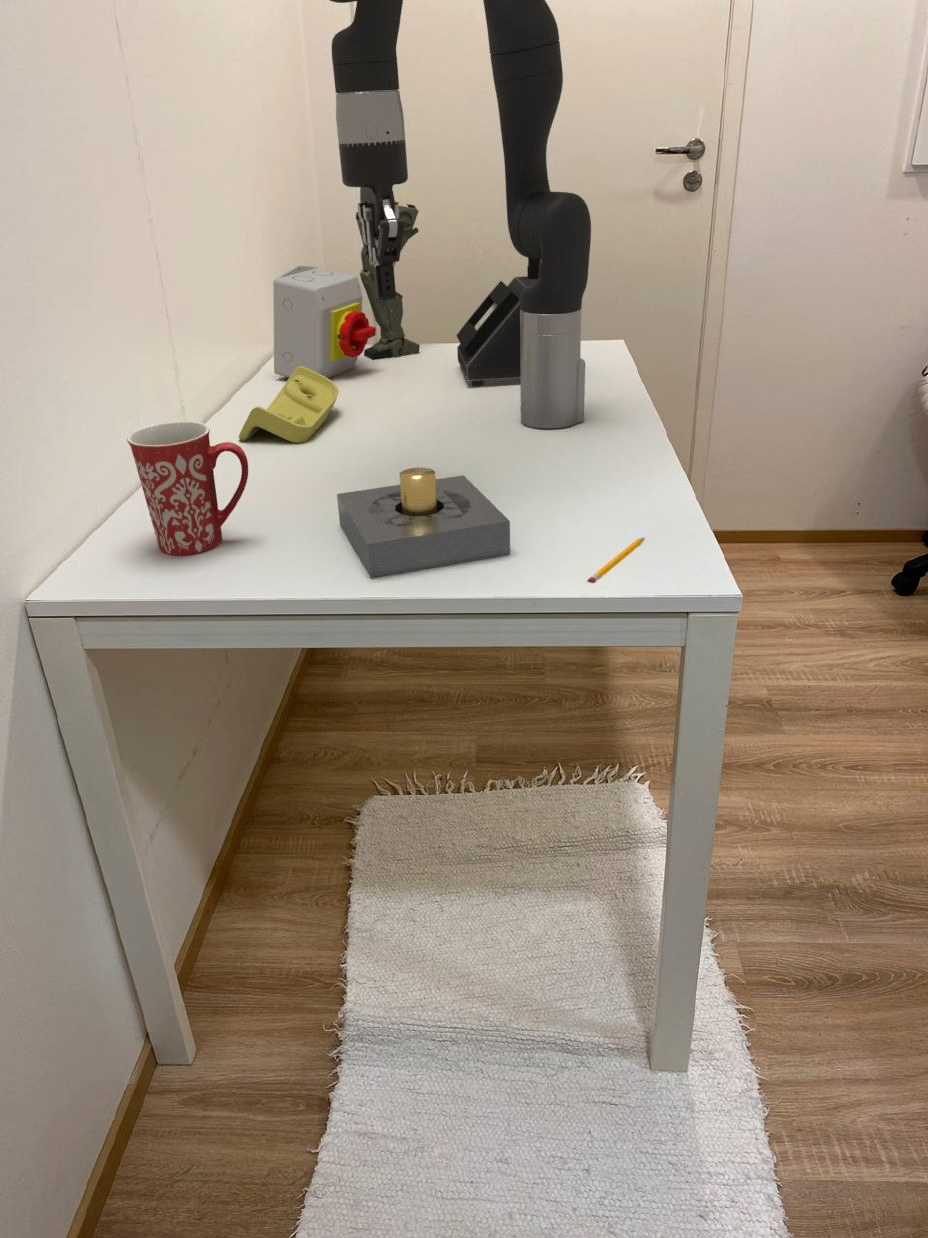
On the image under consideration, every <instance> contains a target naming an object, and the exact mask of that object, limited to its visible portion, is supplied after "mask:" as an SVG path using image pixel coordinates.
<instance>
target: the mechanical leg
mask: <svg viewBox="0 0 928 1238" xmlns="http://www.w3.org/2000/svg"><path fill="white" fill-rule="evenodd" d="M396 202H397V203H398V208H399V218H402V219H403V221H404V230H403V237H402V244H401V251H400V253H402V250H403V249H404V247H405V245H406V244H407V243H408V241H409V240H410V239H411V238H413V236H415V235H416V234H417V233H419V228H418V227H414V226H415V223H416V220H417V217H418V214H419V210H418V209H417V207H416V205H414V204H408V203H406V206H404V205H399V204H400V202H398V201H396ZM413 227H414V228H413ZM360 258H361V265H362V268H361V270H360V272H359V276H360V280H361V283H362V285H363V287H364V290H365V292H366V296H367V299H368V301H369V305H370V307H371V310H372V313H373V316H374V317H373V318H374V320H375V322H376V324H377V325H378V326H379V327H380V329H379V330H380V339H378V341H377V342H375V343H374V344H372V346H371V347H368V348H364V351H363V356H364V357H367V358H368V359H371V360H373V361H374V360H382V359H390V358H394V357H402V356H409V355H415V354H419V353H420V347H421V345H420V344H419V343H417V342H414V341H412V340H410V339H408V338H405V336H406V334H405V332H404V328H403V327H402V320H403V315H404V307H403V297H404V296H403V295H402V294H401V293H399V292H397V291H396V297H395V298H394V299H388V300H380V299H379V298H377V297H376V295H375V286H374V275H373V266H374V265H373V266H371V264H370V262H369V258H367V257H366V255H365V250H364V246H363V245H362V249H361V252H360ZM395 266H396V264H395V265H394V267H395Z"/></svg>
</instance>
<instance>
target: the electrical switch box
mask: <svg viewBox="0 0 928 1238" xmlns="http://www.w3.org/2000/svg"><path fill="white" fill-rule="evenodd" d="M272 286H273V371H274V374H275V375H278V376H283V377H285V378H286V377H287V378H289V377H290V376H291V374H292V373H293V371H294V370H295V369H296V368H297V367H300V366H304V367H306V368H308V369H310V370H312V371H314V372H316V373H319V374H321V375H323V376H324V377H326V378H328V379H331V378H333V377H335V376H337V375H340V374H342V373H344V372H346V371H348V370H350V369H353V368H354V367H355V366H356V363H357V360H358V358H359V356H362V353H364V350H365V348H366V345H367V343H368V340H369V339H371V338H374V337H375V336H376V334H377V333H376V332H377V330H376V329H377V328H376V327H375V326H372V325H370V322H369V319H368V317H367V315H366V314H365V313H364V312H363V292H362V287H361V285H360V281H359V277H358V276H357V275H353V274H350V273H345V272H341V271H337V270H336V271H335V270H331V269H328V268H322V267H318V266H308V265H298V264H297V265H295V266H293V267H291V268H289V269H288V270H286V271H285V272H283V273H281V274H279V275H278V276H276V277H275V278H274V279H273V285H272Z"/></svg>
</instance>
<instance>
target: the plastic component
mask: <svg viewBox="0 0 928 1238" xmlns="http://www.w3.org/2000/svg"><path fill="white" fill-rule="evenodd" d="M339 391H340V390H339V388H338V386H337V385H336V384H335V383H334V382H333V381H332V380H331V379H330V378H326V377H324V376H323V375H321V374H319V373H316V372H314V371H312V370H310V369H308V368H306V367H304V366H300V367H297V368H296V369H295V370H294V371H293V373H292V374H291V376H290V377H288V379H287V381H286V382H285V384H284V385H283V386H282V388H281V390H280V391H279V392H278V394H277V395H276V397H274V399H273V400H272V402H271V403H270V405H269V406H268V407H267V408H264V407H262V406H255V407H253V408H252V409H251V410H250V412H249V414H248V417H247V419H246V420H245V422H244V424H243V426H242V428H241V430H240V432H239V434H238V439H240V440H242V441H248V440H249V439H250V438H251V437H252V436H253V435H254V434H255V433H256V432H257V431H258V430H259V429H260V428H261V429H263V430H265V431H267V432H270V433H271V434H273V435H275V436H278V437H279V438H281V439H284V440H286V441H289V442H291V443H295V444H300V442H302V443H304V441H305V442H307V441H308V440H309V439H311V437H312V436H313V435H314V434H315V433H316V431H317V430H318V429H319V428H320V427H321V425H322V424H323V423H324V422H325V421H326V420H327V418H328V415H329V413H330V411H331V410H332V408H333V407H334V405H335V403H336V401H337V399H338V396H339V395H340V394H339V393H340V392H339ZM247 439H248V440H247ZM306 440H307V441H306Z"/></svg>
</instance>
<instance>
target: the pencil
mask: <svg viewBox="0 0 928 1238" xmlns="http://www.w3.org/2000/svg"><path fill="white" fill-rule="evenodd" d="M644 540H645V537H640V538H636V540H634V541H633V542H631V544H630V545H628V546H627V547H625V548H624V550H622V551H621V552H620V553H618V554H617V555H616V556H615V557H614V558H612V559H611V560H610V561H608V563H606V564H605V565H604V566H603V567H601V568H600V569H599V570H597V571H596V572H595V573H594V574H592V575H591V576H590V577H589V578H588V580H587V582H588V583H591V584H595V583H596V582H597V581H598V580H599V579H600V578H602V577H603V576H604V575H605V574H607V573H609V571H610V570H611V569H612V568H614V567H615V566H616V565H617V564H619V563H620V562H621V561H622V560H624V559H625V558H626V557H627V556H629V555H630V554H631V553H632V552H633V551H635V550H636V549H637V548H638V547H640V546H641V544H643V542H644Z"/></svg>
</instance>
